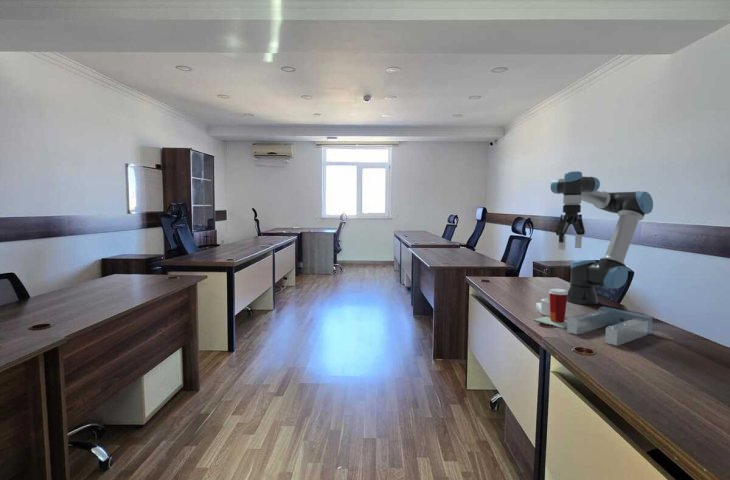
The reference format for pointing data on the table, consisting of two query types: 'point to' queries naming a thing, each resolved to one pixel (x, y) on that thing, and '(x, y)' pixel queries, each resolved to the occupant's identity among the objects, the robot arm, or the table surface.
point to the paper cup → (558, 304)
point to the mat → (547, 321)
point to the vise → (612, 324)
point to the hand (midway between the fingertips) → (570, 248)
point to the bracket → (544, 307)
